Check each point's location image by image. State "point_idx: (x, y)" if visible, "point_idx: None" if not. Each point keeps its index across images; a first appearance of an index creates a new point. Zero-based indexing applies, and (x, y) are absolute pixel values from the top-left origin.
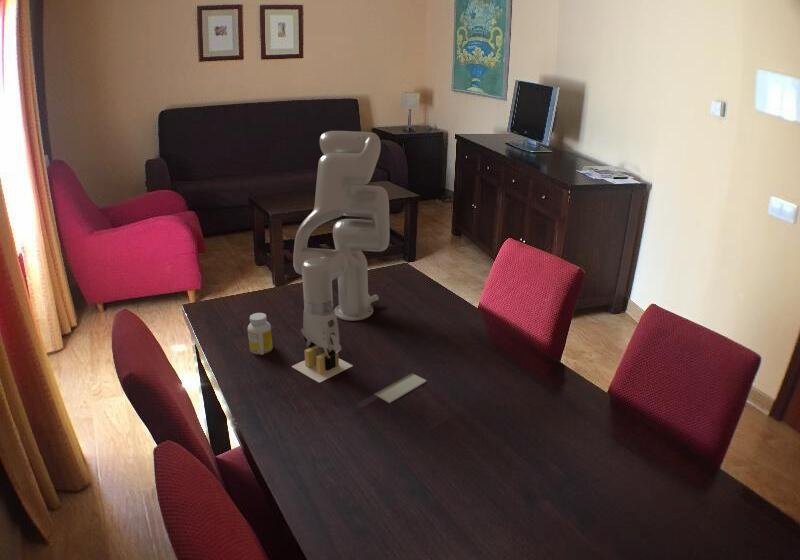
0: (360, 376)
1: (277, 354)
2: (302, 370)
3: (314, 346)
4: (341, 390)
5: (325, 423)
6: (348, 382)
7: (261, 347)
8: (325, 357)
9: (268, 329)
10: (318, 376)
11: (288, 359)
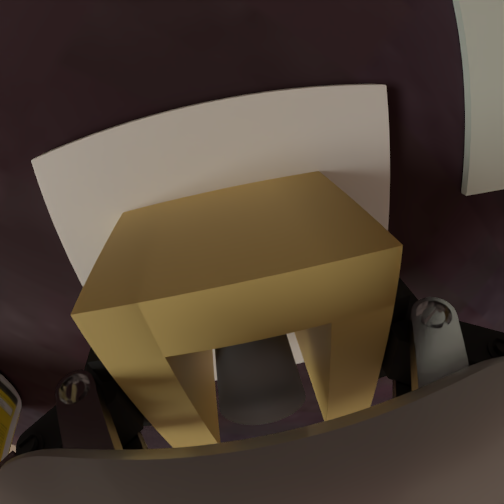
0: (454, 116)
1: (2, 357)
2: (215, 370)
3: (148, 405)
4: (457, 264)
5: None
6: (448, 204)
7: (11, 431)
8: (381, 375)
9: None
10: None
11: (47, 348)
